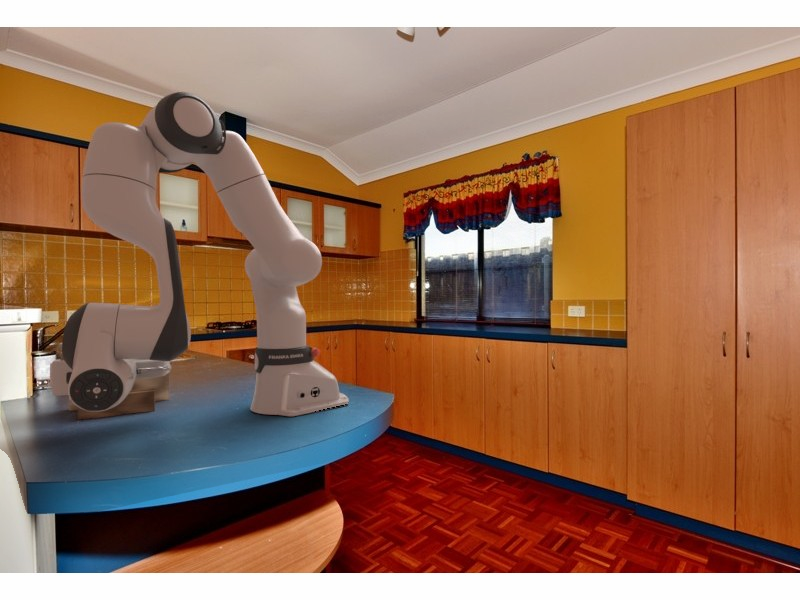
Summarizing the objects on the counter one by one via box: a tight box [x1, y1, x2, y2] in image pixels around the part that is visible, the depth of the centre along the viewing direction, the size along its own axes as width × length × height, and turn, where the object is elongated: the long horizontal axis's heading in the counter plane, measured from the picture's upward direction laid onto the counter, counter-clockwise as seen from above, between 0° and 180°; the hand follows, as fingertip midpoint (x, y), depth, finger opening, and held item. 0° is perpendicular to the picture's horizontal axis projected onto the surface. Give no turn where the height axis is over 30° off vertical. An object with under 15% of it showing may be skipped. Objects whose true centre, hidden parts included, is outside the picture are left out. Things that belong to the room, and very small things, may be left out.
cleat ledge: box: [77, 389, 156, 421], centre depth 95 cm, size 14×10×4 cm
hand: (117, 363), depth 91 cm, fingers open, 8 cm apart
